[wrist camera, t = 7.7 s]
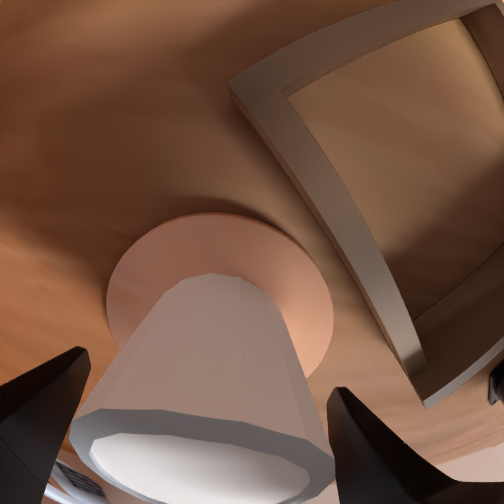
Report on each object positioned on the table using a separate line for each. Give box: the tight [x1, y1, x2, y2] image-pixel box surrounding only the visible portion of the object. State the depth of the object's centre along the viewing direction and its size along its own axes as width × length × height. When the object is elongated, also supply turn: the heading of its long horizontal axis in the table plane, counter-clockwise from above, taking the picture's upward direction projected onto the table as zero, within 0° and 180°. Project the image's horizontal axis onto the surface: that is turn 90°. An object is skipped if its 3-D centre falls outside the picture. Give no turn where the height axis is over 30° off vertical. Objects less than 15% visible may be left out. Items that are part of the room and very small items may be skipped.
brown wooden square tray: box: [226, 0, 504, 410], centre depth 8 cm, size 14×14×4 cm
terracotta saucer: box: [106, 212, 334, 378], centre depth 12 cm, size 10×10×1 cm
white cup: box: [69, 273, 335, 504], centre depth 8 cm, size 7×7×7 cm
